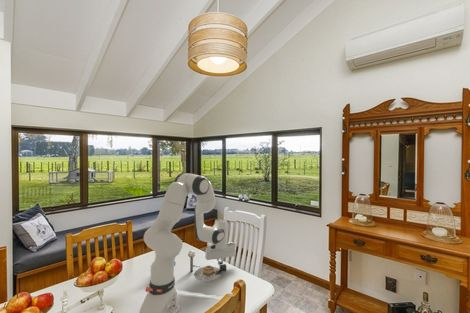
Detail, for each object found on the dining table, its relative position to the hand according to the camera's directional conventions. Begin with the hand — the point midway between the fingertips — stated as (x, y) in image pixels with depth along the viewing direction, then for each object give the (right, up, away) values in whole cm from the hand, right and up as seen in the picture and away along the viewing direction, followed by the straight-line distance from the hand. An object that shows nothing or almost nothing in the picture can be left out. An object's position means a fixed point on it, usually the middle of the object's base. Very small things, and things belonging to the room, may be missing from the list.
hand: (220, 264), depth 152 cm
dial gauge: (-17, -4, -5) cm, 18 cm away
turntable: (-6, -3, -6) cm, 9 cm away
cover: (-7, -3, -6) cm, 10 cm away
